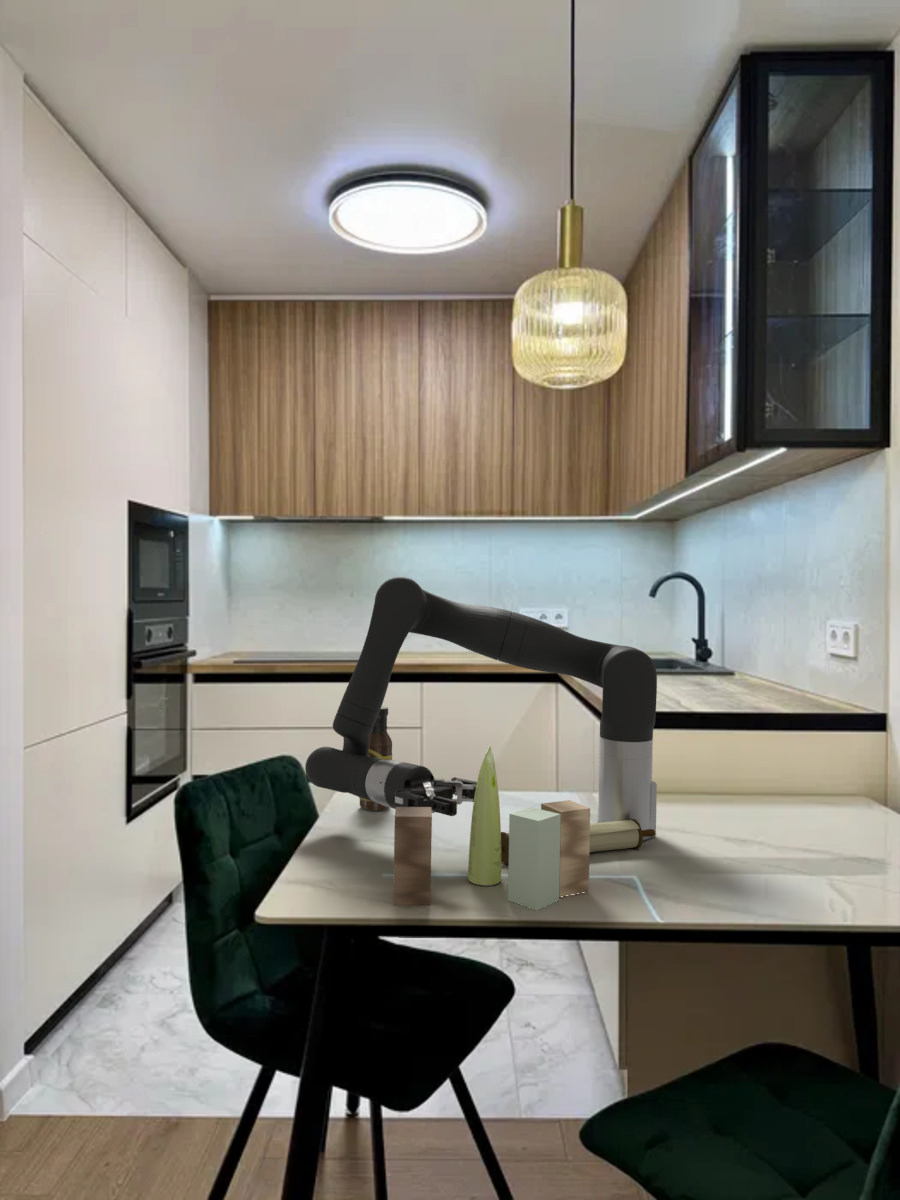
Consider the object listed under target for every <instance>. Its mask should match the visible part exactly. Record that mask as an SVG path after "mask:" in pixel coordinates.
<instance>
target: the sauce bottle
mask: <svg viewBox="0 0 900 1200" xmlns="http://www.w3.org/2000/svg"><path fill="white" fill-rule="evenodd" d="M388 715H389V708H388V706H385V705H382V706H381V709H380V712H379V714H378V717H377V720H376V722H375V725H374V727H373V730H372V732H371V735H370V744H369V752H368V757H375V758H379V759H384V760H393V740H392V737H390V735H389V733H388V725H387V724H388ZM358 799H359V806H360V808H361V809H362V810H364V811H365V810H366V811H370V812H383V811H386V810H389V809H390V807H386V806H383V805H381V804H379V803H377V802H374V801H370V800H366V799H363V798H360V797H358Z"/></svg>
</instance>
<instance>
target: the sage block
mask: <svg viewBox="0 0 900 1200" xmlns="http://www.w3.org/2000/svg"><path fill="white" fill-rule="evenodd" d="M508 818H509V823H508V824H509V826H508V828H509V829H508V833H509V864H508V877H507V878H508V883H507V885H508V888H507V901H508V900H509V901H508V902H510V901H511V902H510V903H513V902H515V903H514V904H516V903H517V904H516V905H519V904H521V905H520V906H522V905H523V906H522V907H525V906H527V907H526V908H528V907H530V908H529V909H531V908H533V909H532V910H534V909H536V910H535V911H537V910H538V911H540V910H541V909H540V908H542V909H544V908H546V907H545V906H547V905H549V906H551V905H552V904H551V903H553V904H555V903H554V902H556V901H558V900H559V901H560V898H559V875H560V819H561V814H558V813H554V812H550V811H545V810H541V808H536V807H532V806H531V807H528V808H525V809H522V810H517V811H515V812H514V811H513V812H510V813H509V817H508ZM559 901H558V902H559ZM556 903H557V902H556ZM550 904H551V905H550ZM543 907H544V908H543ZM547 907H548V906H547ZM539 909H540V910H539Z"/></svg>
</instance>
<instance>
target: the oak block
mask: <svg viewBox="0 0 900 1200" xmlns="http://www.w3.org/2000/svg"><path fill="white" fill-rule="evenodd" d="M540 809H541V810H545V811H550V812H554V813H558V814H561V819H560V875H559V897H561V896H566V895H571V894H577V893H582V892H588V891H589V892H590V890H589V889H590V852H589V850H590V824H591V807H588V806H585V805H583V804H580V803H578V802H575V801H573V800H570V799H569V800H568V799H567V800H560V801H553V802H542V803H541V804H540Z"/></svg>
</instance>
